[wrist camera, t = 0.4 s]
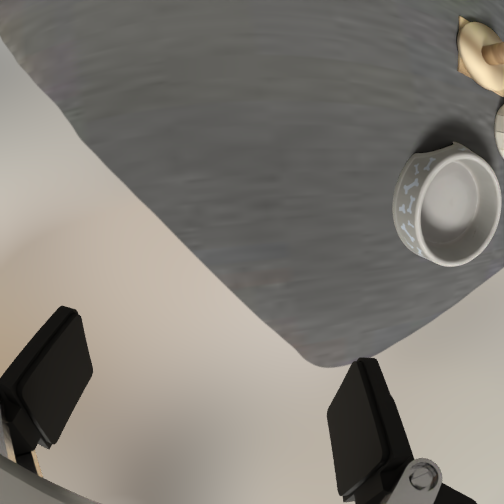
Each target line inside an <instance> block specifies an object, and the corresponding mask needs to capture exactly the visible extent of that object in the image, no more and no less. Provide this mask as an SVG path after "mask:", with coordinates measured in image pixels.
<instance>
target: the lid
mask: <svg viewBox="0 0 504 504" xmlns="http://www.w3.org/2000/svg"><path fill="white" fill-rule="evenodd" d="M457 46H458V51H459V55H460V58H461V60H462V63H463V65H464V67H465V69H466V70H467V72H468V73H469V75H470V76H471V77H472V79H473V80H474V81H475V82H476V83H477V84H478V85H480V86H481V87H483V88H485V89H487V90H490V91H500V90H503V89H504V42H502V41H501V39H500V38H499V37H498V35H497V34H496V33H495V32H494V31H493V30H492V29H490V28H489V27H488V26H486V25H484V24H482V23H479V22H471V23H468V24H465V25H464V26H462V27H461V29H460V30H459V33H458V36H457Z"/></svg>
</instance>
